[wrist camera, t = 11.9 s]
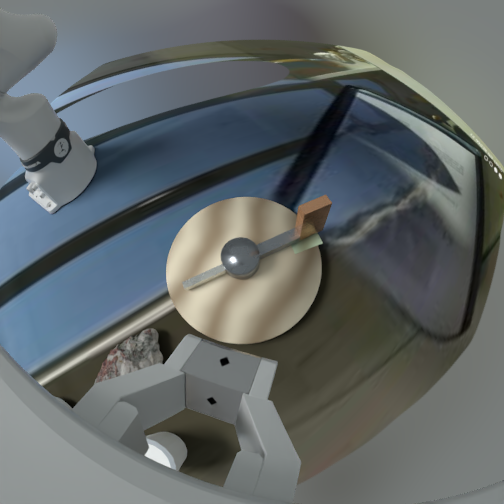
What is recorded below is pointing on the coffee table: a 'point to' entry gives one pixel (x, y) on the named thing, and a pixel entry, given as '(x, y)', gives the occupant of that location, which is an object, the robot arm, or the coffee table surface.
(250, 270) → the grey pivot bar
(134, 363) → the mineral rock
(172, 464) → the white cylinder
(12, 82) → the robot arm
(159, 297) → the coffee table surface
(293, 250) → the stand
